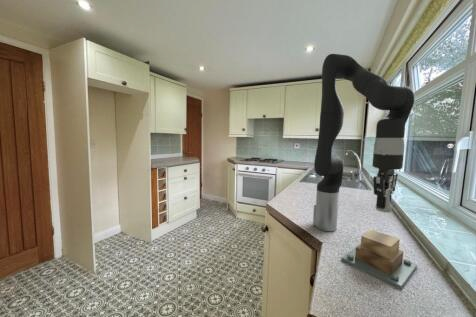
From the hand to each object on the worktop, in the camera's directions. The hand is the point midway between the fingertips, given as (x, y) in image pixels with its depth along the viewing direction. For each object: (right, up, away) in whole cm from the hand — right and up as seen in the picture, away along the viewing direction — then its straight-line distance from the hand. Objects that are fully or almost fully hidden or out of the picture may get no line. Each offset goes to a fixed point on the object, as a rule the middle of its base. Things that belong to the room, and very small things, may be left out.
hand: (383, 206), depth 63 cm
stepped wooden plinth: (-1, -19, +2) cm, 19 cm away
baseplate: (-1, -19, +2) cm, 19 cm away
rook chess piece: (0, -2, 0) cm, 2 cm away
